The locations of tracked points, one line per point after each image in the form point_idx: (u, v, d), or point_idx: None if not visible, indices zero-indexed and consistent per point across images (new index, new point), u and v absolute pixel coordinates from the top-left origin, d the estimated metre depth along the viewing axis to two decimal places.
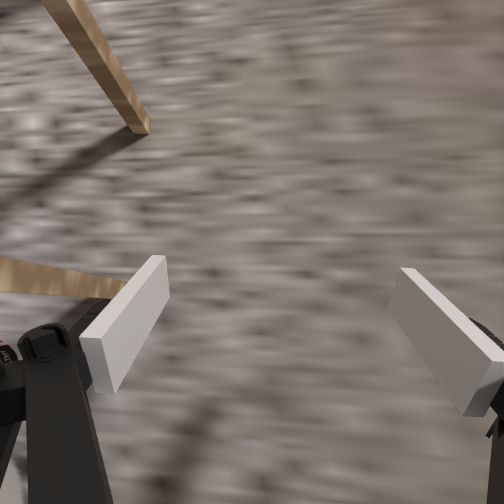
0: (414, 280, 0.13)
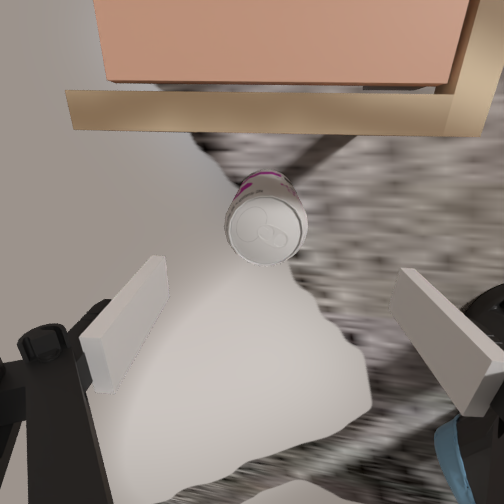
0: (414, 280, 0.13)
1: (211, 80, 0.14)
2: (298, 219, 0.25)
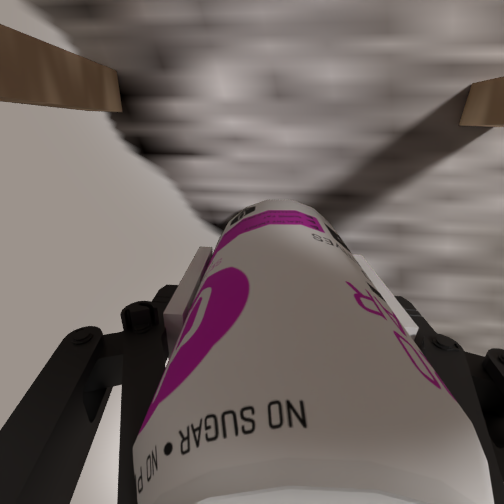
0: None
1: None
2: None
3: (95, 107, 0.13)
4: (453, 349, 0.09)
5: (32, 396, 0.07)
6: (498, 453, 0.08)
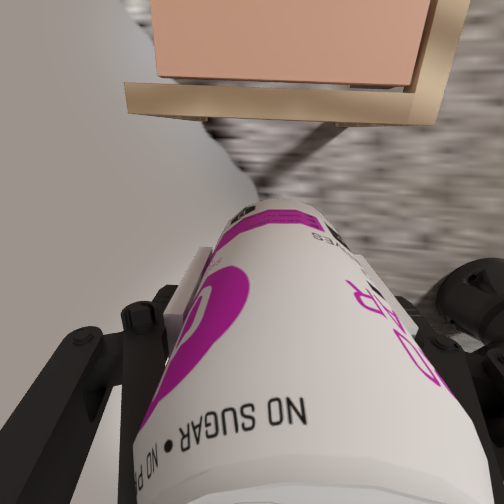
0: None
1: (236, 78, 0.19)
2: None
3: (204, 120, 0.38)
4: (453, 349, 0.09)
5: (32, 396, 0.07)
6: (497, 453, 0.08)
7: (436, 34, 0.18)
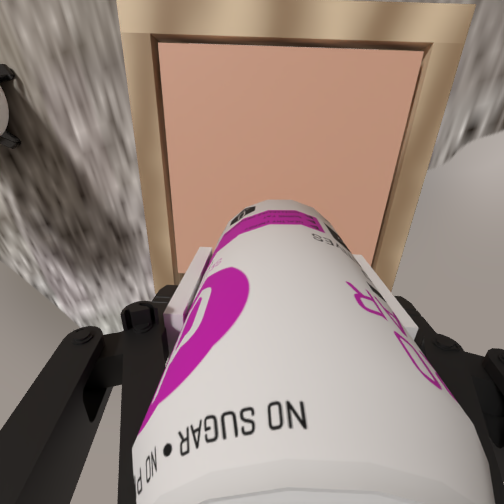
0: None
1: (380, 225, 0.23)
2: None
3: None
4: (453, 349, 0.09)
5: (32, 396, 0.07)
6: (498, 453, 0.08)
7: (383, 32, 0.18)
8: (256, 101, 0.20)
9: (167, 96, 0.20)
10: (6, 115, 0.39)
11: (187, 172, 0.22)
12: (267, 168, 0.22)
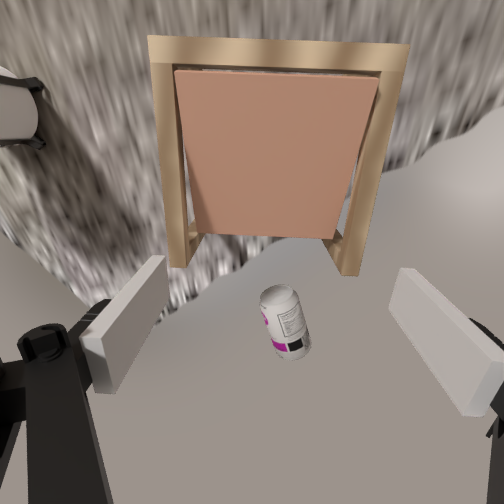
0: (414, 280, 0.13)
1: (343, 201, 0.32)
2: (287, 286, 0.57)
3: None
4: None
5: None
6: None
7: (344, 63, 0.24)
8: (251, 115, 0.26)
9: (183, 111, 0.26)
10: (36, 121, 0.45)
11: (201, 165, 0.29)
12: (260, 162, 0.29)
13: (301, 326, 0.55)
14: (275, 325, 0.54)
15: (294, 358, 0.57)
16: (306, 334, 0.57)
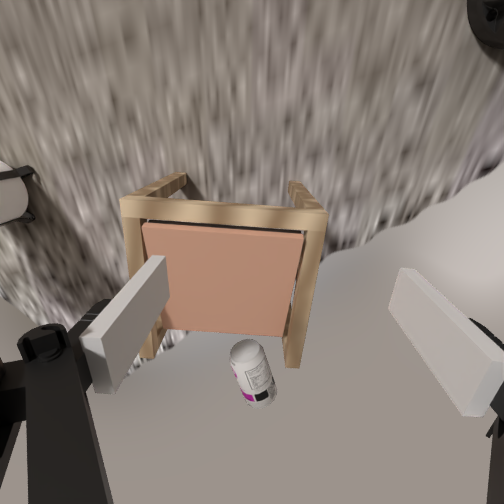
0: (414, 280, 0.13)
1: (287, 311, 0.37)
2: (255, 341, 0.63)
3: None
4: None
5: None
6: None
7: (278, 224, 0.30)
8: (205, 255, 0.32)
9: (149, 250, 0.32)
10: (26, 202, 0.50)
11: None
12: (215, 284, 0.35)
13: (267, 379, 0.62)
14: (243, 379, 0.60)
15: (260, 407, 0.63)
16: (271, 384, 0.63)
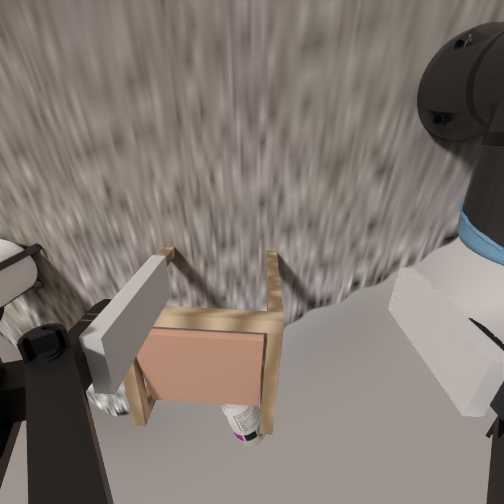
0: (414, 280, 0.13)
1: None
2: None
3: None
4: None
5: None
6: None
7: (242, 329, 0.35)
8: (182, 351, 0.37)
9: None
10: (36, 275, 0.56)
11: (151, 369, 0.41)
12: (193, 370, 0.40)
13: (255, 421, 0.67)
14: (233, 422, 0.65)
15: (250, 445, 0.68)
16: None
